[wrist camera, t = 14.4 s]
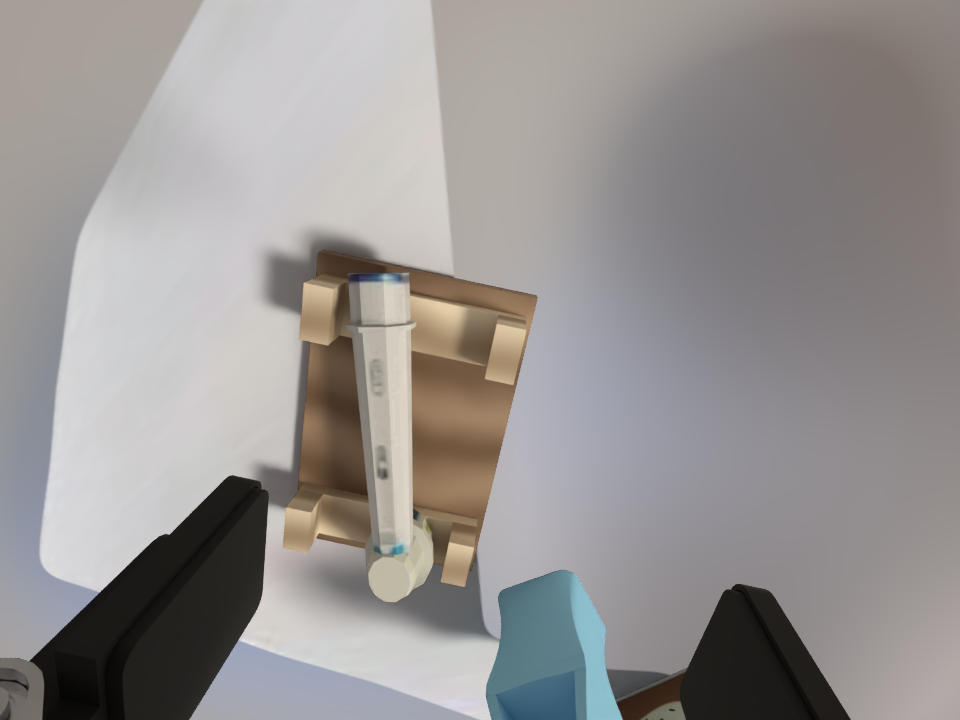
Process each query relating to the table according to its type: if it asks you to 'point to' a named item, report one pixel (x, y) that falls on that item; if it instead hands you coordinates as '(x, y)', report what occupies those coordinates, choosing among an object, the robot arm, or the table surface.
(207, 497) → the robot arm
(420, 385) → the v block cradle
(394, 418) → the white electric toothbrush
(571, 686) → the vase
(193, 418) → the table surface
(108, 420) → the table surface
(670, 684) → the food container
